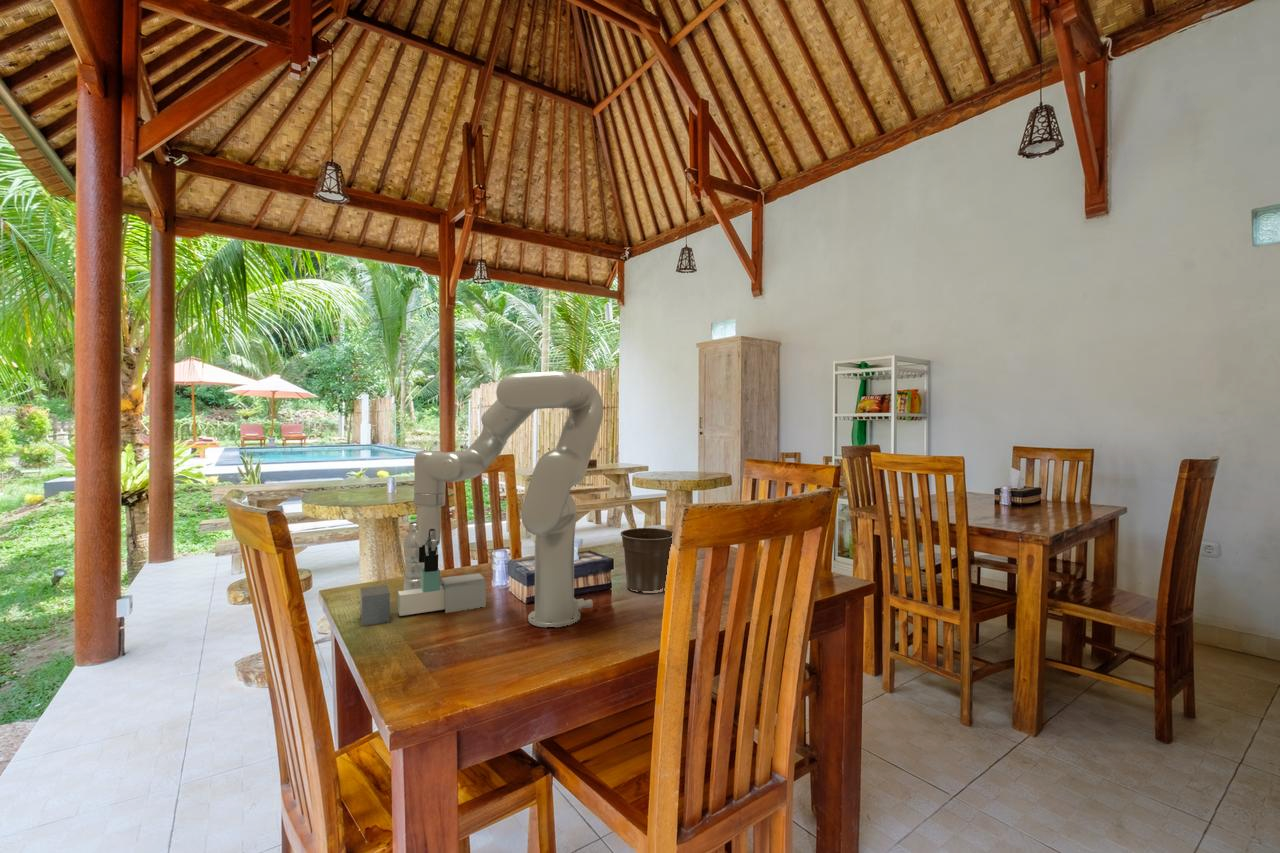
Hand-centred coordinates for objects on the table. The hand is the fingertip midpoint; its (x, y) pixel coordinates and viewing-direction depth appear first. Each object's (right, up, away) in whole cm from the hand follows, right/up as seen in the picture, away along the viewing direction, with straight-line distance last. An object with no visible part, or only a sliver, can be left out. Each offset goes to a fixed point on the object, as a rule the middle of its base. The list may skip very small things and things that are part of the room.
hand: (428, 566), depth 146 cm
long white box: (+3, -11, +1) cm, 12 cm away
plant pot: (+56, -11, +20) cm, 61 cm away
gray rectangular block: (+8, -11, +4) cm, 14 cm away
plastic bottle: (-9, -11, +14) cm, 20 cm away
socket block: (-11, -11, -6) cm, 17 cm away
